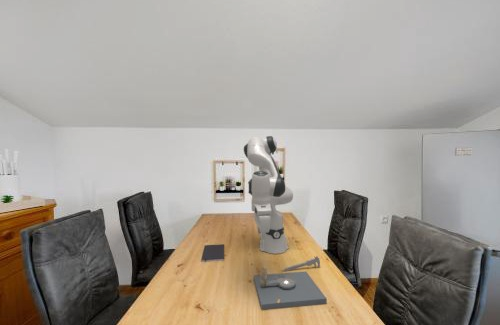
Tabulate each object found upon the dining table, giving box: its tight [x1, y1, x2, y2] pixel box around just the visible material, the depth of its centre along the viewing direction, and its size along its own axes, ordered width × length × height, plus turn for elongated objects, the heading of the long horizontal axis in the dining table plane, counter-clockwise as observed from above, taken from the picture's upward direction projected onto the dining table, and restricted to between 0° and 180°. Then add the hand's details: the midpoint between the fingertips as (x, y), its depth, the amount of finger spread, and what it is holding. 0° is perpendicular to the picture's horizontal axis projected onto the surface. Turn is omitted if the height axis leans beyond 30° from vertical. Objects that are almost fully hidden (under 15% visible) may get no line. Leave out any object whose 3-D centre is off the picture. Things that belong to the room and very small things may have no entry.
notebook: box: [200, 243, 225, 263], centre depth 133 cm, size 13×2×21 cm
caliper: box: [282, 255, 321, 272], centre depth 113 cm, size 20×1×6 cm, turn 101°
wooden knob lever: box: [260, 267, 295, 289], centre depth 95 cm, size 15×8×7 cm, turn 97°
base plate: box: [253, 271, 328, 311], centre depth 95 cm, size 21×26×2 cm
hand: (261, 236), depth 102 cm, fingers open, 6 cm apart
